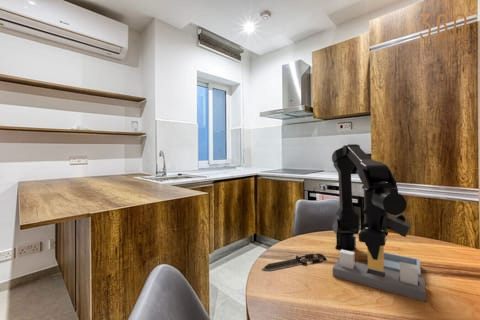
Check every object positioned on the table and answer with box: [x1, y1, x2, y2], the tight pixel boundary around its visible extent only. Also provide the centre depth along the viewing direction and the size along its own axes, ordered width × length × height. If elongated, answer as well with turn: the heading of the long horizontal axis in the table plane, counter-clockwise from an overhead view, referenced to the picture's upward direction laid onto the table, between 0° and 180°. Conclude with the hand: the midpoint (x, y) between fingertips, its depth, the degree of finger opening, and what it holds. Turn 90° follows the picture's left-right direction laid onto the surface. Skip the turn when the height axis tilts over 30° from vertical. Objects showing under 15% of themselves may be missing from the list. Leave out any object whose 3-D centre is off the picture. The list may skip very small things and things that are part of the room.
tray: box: [384, 251, 422, 278], centre depth 77 cm, size 14×12×2 cm
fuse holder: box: [332, 257, 427, 303], centre depth 69 cm, size 23×8×2 cm, turn 53°
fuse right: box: [400, 262, 418, 286], centre depth 64 cm, size 4×2×7 cm, turn 53°
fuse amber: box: [366, 246, 385, 271], centre depth 69 cm, size 4×2×7 cm, turn 53°
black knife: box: [260, 252, 327, 272], centre depth 82 cm, size 25×6×1 cm, turn 103°
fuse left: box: [339, 249, 356, 270], centre depth 74 cm, size 4×2×7 cm, turn 53°
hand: (375, 257), depth 69 cm, fingers closed on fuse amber, 2 cm apart
